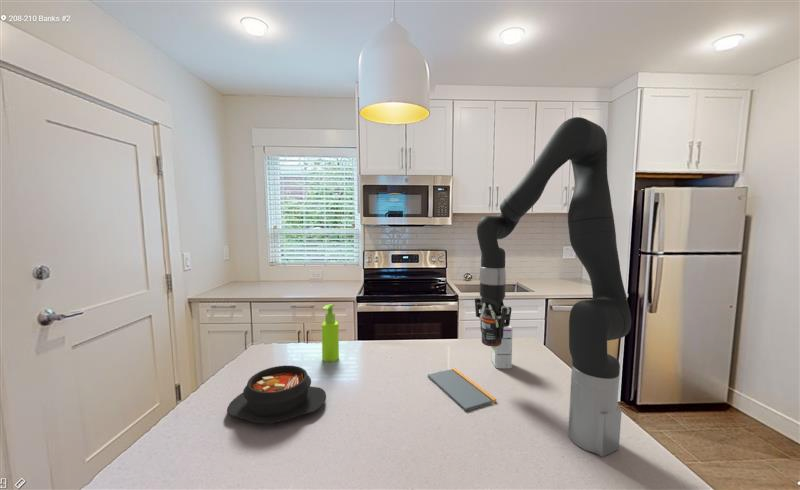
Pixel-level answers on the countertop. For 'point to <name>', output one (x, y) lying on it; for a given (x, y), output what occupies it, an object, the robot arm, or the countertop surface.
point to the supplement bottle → (489, 329)
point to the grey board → (461, 389)
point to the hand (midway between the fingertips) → (491, 335)
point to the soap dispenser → (330, 336)
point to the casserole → (277, 396)
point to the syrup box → (503, 350)
